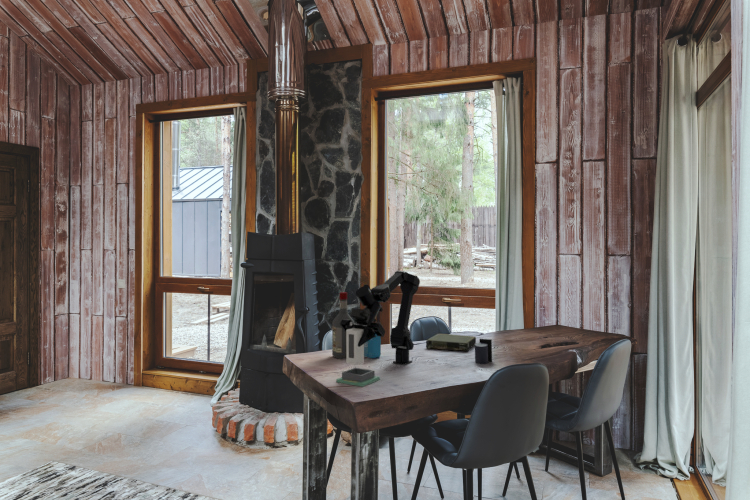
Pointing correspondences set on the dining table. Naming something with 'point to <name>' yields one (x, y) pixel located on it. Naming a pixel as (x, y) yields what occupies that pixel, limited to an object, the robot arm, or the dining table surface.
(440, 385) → the dining table surface
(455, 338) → the network switch
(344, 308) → the liquor
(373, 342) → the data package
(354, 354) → the white rectangular block
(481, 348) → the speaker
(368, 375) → the green and grey tray
